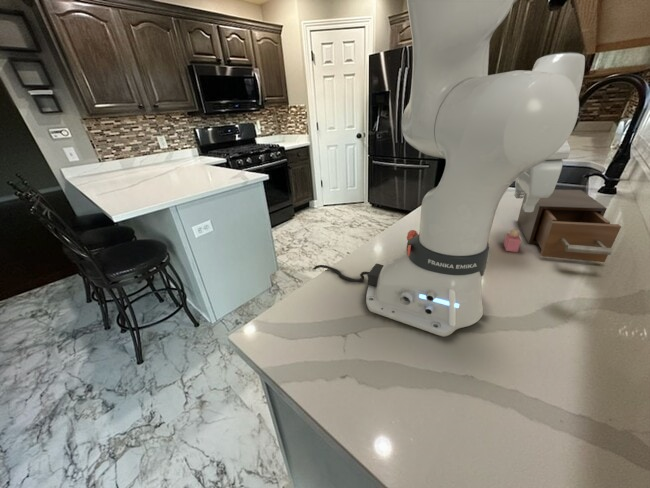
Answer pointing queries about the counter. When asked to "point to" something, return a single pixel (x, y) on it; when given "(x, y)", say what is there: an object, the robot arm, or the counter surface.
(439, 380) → the counter surface
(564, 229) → the drawer
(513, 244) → the doll
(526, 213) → the cabinet
